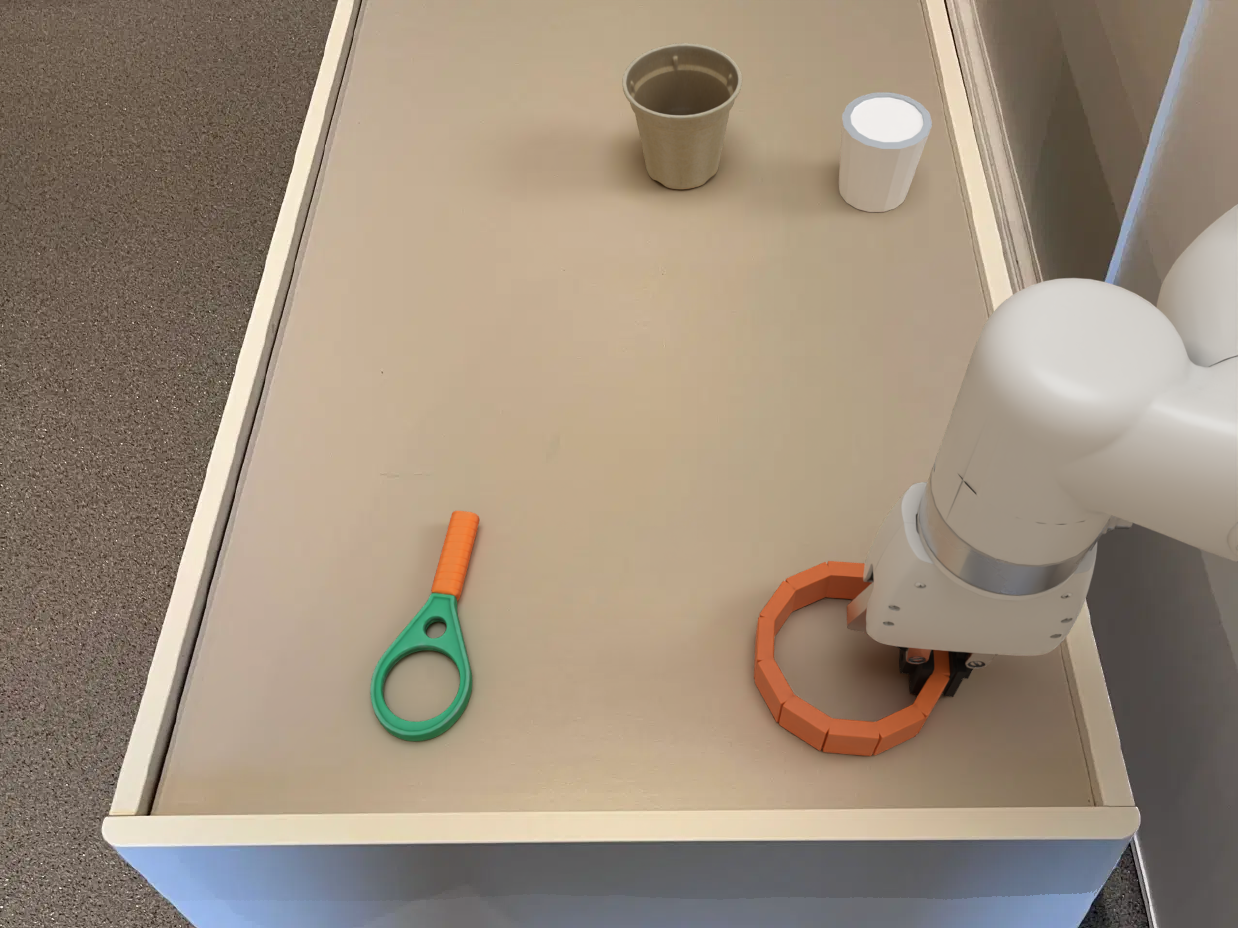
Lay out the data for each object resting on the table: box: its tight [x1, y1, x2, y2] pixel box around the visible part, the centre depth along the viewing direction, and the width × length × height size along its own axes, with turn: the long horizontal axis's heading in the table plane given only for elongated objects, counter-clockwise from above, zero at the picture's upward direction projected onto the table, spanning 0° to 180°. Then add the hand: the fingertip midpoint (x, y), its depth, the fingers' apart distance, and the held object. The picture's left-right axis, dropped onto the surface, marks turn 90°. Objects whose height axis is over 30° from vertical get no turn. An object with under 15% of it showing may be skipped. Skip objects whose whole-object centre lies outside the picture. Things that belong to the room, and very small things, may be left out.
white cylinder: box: [838, 91, 933, 213], centre depth 84 cm, size 7×7×7 cm
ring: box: [753, 560, 950, 757], centre depth 62 cm, size 11×11×3 cm
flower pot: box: [621, 42, 743, 190], centre depth 86 cm, size 9×9×9 cm
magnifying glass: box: [369, 510, 481, 742], centre depth 66 cm, size 15×6×2 cm, turn 171°
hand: (929, 671), depth 63 cm, fingers closed on ring, 1 cm apart
